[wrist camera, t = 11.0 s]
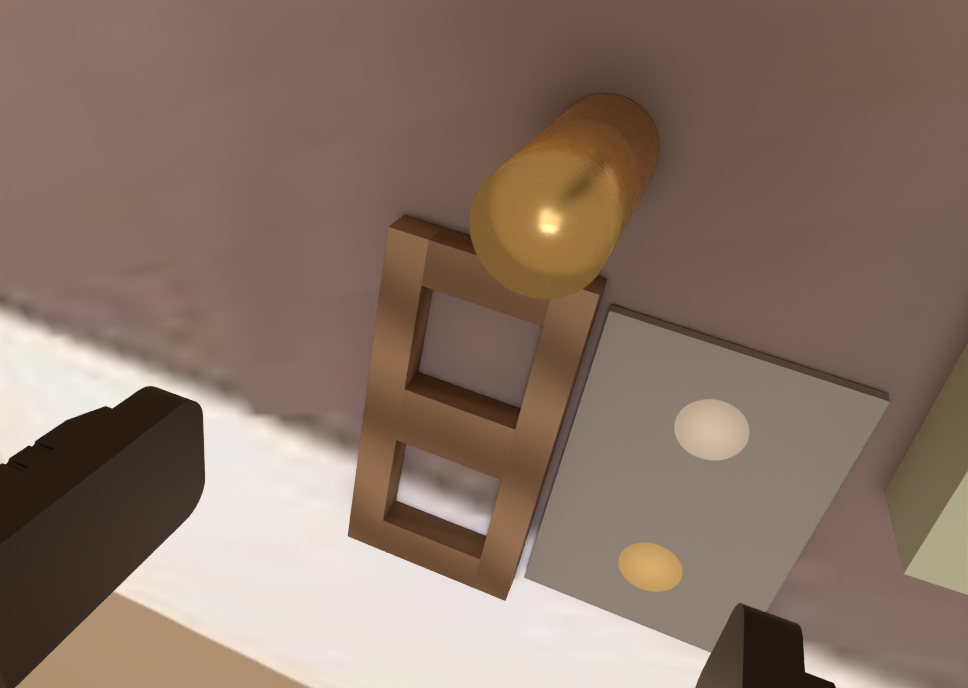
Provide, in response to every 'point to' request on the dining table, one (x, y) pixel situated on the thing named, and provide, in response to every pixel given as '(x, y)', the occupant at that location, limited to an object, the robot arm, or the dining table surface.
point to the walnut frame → (459, 409)
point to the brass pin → (565, 198)
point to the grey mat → (694, 476)
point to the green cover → (936, 490)
